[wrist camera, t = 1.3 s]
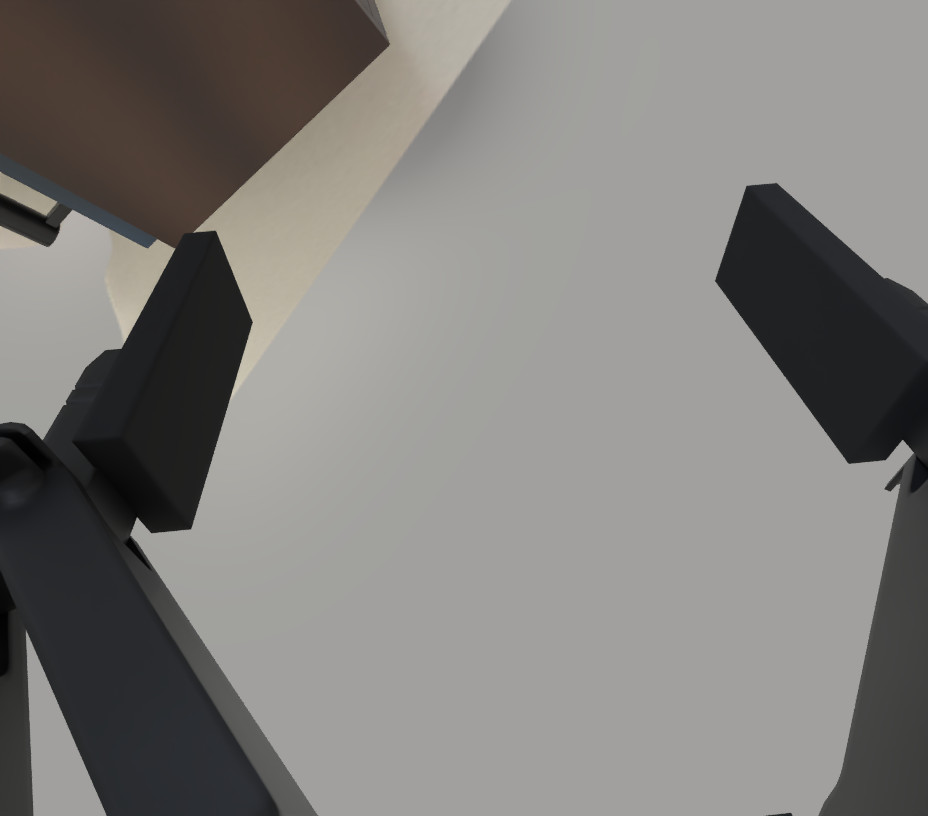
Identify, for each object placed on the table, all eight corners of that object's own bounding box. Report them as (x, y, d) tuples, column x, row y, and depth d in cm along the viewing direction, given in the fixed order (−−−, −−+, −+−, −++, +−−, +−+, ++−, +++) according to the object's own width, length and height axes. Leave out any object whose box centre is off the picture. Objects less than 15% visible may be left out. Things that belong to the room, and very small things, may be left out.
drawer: (102, 224, 36) (93, 302, 33) (-176, 79, 26) (-229, 169, 23) (314, -3, 28) (331, 68, 25) (32, -331, 19) (-2, -285, 15)
